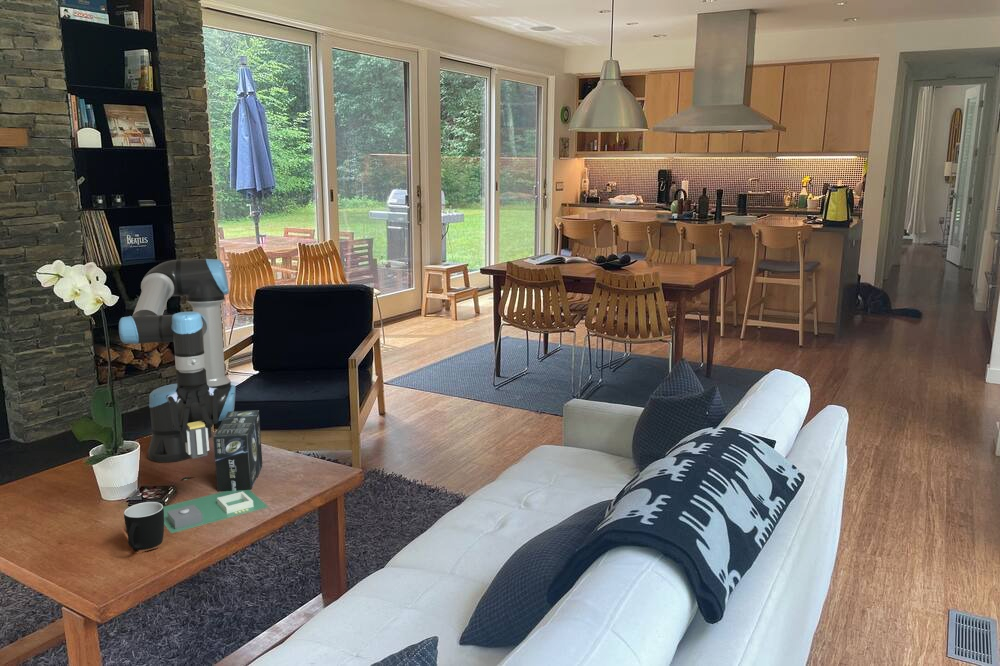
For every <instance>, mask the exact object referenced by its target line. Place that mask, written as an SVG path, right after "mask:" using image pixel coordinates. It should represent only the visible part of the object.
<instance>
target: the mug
mask: <svg viewBox="0 0 1000 666" xmlns="http://www.w3.org/2000/svg"><path fill="white" fill-rule="evenodd" d="M163 507H164V505H163V504H162V503H160V502H157V501H146V502H141V503H136V504H133V505H131V506H129V507H127V508H126V509H125V510H124V512H123V519H124V524H125V529H126V534H127V541H128V542H127V543H128V546H129V548H131V549H133V551H134V552H137V553H140V551H143V553H149V552H153V551H155V550H157V549H159V547H158V546H160V545H161V544H162V543H163V542H164V541H163V540H164V536H165V535H164V531H165V525H164V509H163Z"/></svg>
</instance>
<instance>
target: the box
mask: <svg viewBox="0 0 1000 666" xmlns="http://www.w3.org/2000/svg"><path fill="white" fill-rule="evenodd" d="M212 438H213V441H212V442H213V450H214V462H215V478H216V489H217V493H221V492H225V491H239V490H250V491H252V490H253V487H254V485H255V482H256V480H257V479H258V478H259V477H260V476H259V475H260V472H261V470H262V468H263V455H262V454H263V453H262V436H261V419H260V410H259V409H253V410H234V411H231V412H228V413H227V415H226V416H225V418H224V420H223V421H221V422H220V425H219V426H218V428H217V430H216V431H215V433H214V435H212Z"/></svg>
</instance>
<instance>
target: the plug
mask: <svg viewBox="0 0 1000 666" xmlns="http://www.w3.org/2000/svg"><path fill="white" fill-rule="evenodd" d="M187 430H188V431H189V432H190V442H191V454H190V455H189V454H188V455H189V456H190V458H191V459H199V458H202V457H207V456H208V451H207V443H206V430H205V424H204V422H202V421H197V422H192V423H188V424H187Z"/></svg>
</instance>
